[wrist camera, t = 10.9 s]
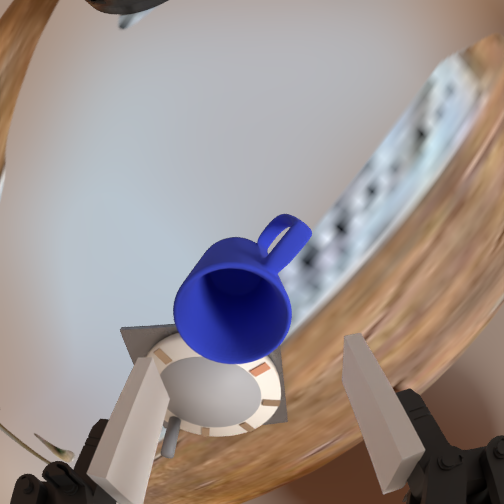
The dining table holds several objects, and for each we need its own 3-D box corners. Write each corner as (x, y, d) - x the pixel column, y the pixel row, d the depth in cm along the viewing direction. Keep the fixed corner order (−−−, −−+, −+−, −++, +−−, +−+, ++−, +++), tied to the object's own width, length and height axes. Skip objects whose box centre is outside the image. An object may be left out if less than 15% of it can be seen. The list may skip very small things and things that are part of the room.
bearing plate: (121, 327, 31) (112, 341, 28) (276, 312, 31) (279, 327, 28) (165, 425, 37) (161, 439, 34) (287, 418, 36) (289, 434, 33)
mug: (320, 231, 28) (354, 267, 19) (243, 318, 31) (243, 381, 21) (253, 177, 27) (257, 187, 17) (179, 273, 29) (152, 325, 20)
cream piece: (142, 411, 35) (128, 452, 27) (145, 313, 30) (120, 356, 22) (260, 433, 36) (262, 477, 29) (297, 344, 31) (310, 393, 24)
